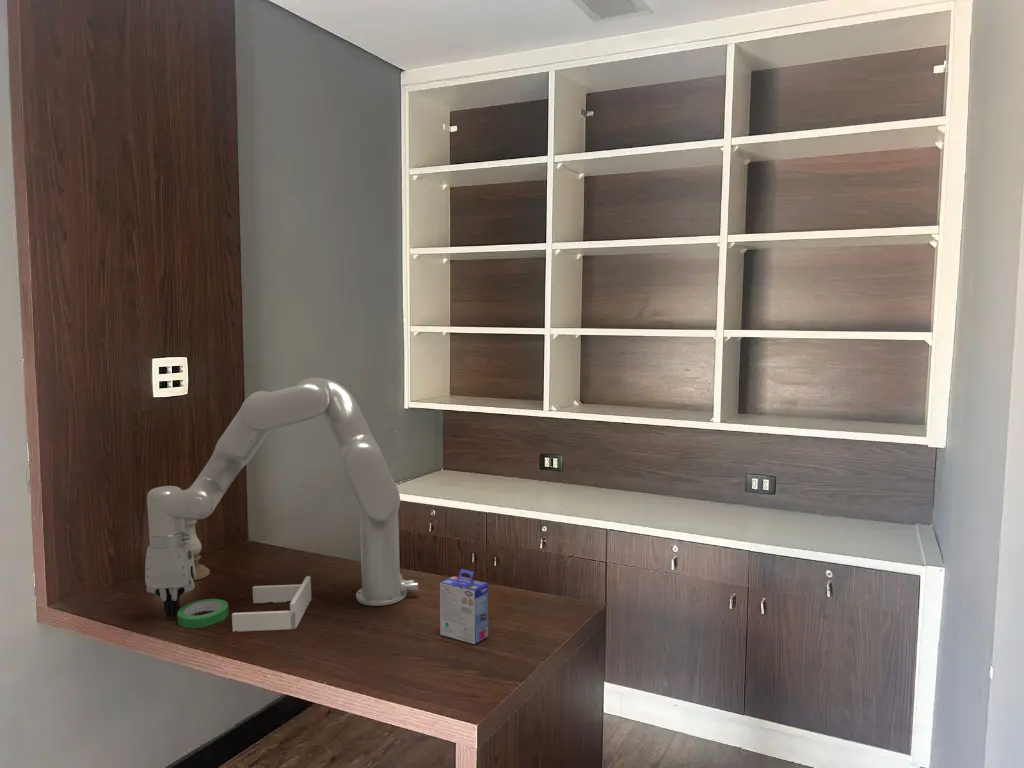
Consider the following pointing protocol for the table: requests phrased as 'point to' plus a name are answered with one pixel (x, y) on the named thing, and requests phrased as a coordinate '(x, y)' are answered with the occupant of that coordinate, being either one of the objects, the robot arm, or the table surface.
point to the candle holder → (195, 549)
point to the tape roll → (198, 621)
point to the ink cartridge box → (464, 608)
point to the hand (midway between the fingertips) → (172, 614)
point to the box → (275, 619)
